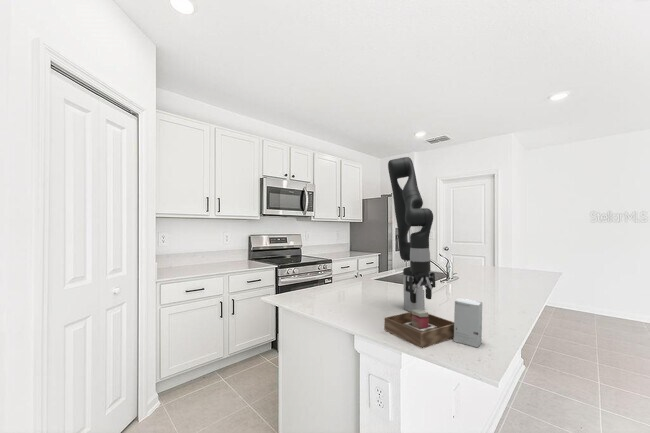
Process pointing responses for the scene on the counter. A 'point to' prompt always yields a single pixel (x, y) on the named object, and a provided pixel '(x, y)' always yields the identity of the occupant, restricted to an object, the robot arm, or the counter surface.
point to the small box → (419, 318)
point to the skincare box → (468, 322)
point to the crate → (420, 337)
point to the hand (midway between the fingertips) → (421, 300)
